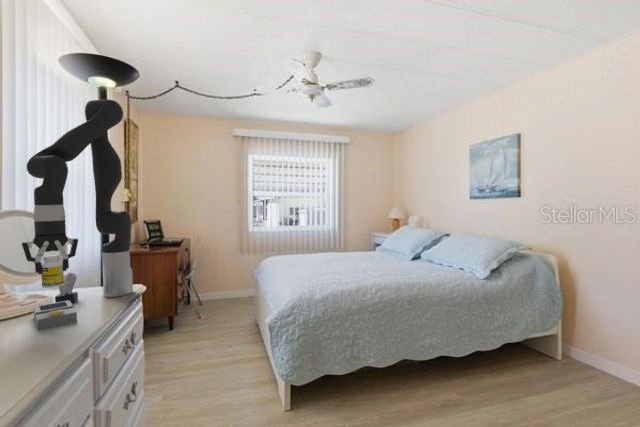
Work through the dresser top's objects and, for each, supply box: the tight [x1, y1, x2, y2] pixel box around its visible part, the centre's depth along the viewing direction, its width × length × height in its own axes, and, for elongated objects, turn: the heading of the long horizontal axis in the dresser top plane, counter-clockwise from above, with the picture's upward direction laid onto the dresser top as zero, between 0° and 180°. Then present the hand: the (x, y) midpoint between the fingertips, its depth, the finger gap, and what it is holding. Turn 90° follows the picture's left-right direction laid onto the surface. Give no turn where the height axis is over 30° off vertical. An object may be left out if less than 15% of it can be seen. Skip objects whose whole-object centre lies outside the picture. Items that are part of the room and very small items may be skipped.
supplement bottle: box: [40, 254, 64, 289], centre depth 102 cm, size 5×5×10 cm
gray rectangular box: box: [33, 300, 78, 331], centre depth 102 cm, size 21×9×4 cm, turn 45°
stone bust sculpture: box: [54, 271, 79, 305], centre depth 117 cm, size 6×8×11 cm
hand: (52, 272), depth 102 cm, fingers closed on supplement bottle, 5 cm apart
